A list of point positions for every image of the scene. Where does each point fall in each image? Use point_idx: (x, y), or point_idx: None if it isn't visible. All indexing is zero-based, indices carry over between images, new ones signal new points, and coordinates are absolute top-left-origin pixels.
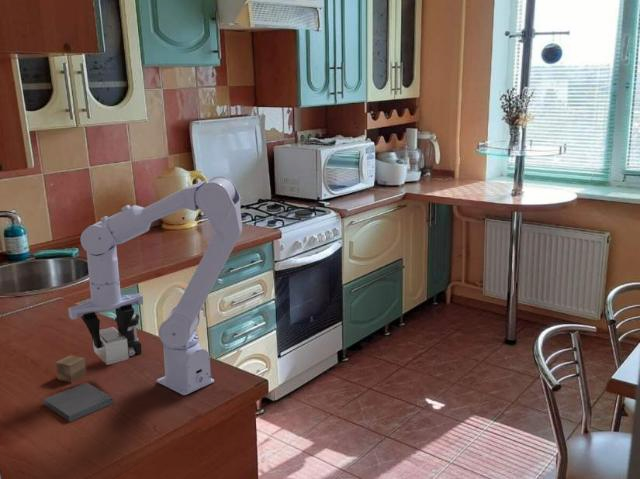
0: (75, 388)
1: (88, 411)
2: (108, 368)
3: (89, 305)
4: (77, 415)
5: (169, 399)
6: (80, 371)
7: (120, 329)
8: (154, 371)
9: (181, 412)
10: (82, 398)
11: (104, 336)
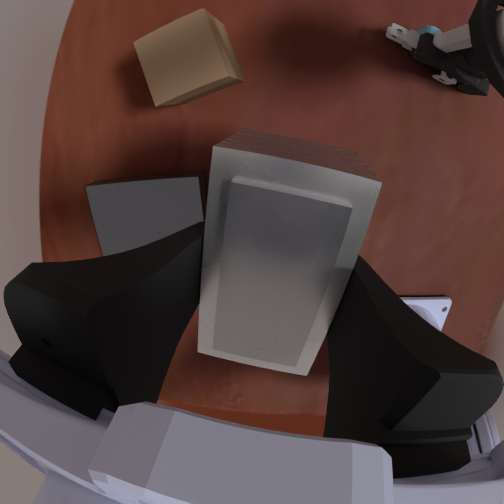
0: (158, 191)
1: None
2: (328, 92)
3: (42, 468)
4: None
5: (316, 364)
6: (215, 87)
7: (343, 319)
8: (406, 237)
9: (295, 398)
10: None
11: (228, 302)
